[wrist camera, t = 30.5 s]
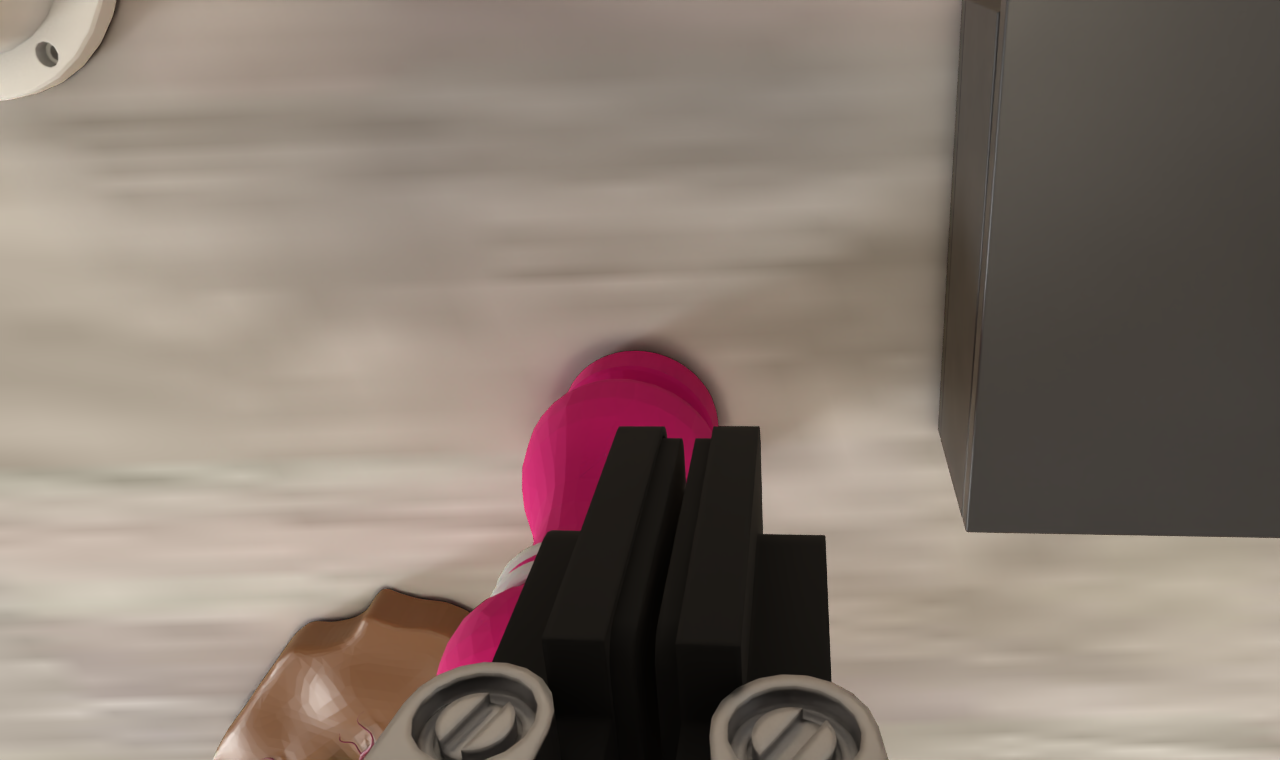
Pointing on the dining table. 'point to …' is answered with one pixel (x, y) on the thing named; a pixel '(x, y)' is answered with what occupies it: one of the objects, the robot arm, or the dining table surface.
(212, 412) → the dining table surface
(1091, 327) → the lid
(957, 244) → the dark grey open box
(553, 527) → the pepper mill
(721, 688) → the robot arm
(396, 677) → the plant
